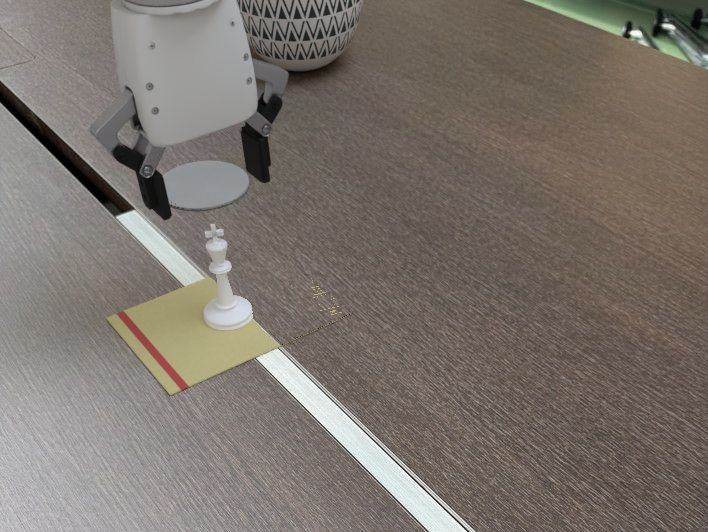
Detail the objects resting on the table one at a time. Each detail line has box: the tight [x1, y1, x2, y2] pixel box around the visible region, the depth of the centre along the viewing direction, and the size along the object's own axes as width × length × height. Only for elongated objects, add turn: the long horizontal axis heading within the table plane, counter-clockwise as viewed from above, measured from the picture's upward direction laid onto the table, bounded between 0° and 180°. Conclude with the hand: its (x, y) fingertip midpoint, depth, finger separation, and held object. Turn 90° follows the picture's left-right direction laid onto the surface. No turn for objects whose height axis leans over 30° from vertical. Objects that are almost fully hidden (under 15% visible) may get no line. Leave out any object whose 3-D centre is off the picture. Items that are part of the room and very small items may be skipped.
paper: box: [105, 276, 353, 396], centre depth 84 cm, size 20×14×1 cm
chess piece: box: [204, 222, 253, 331], centre depth 80 cm, size 5×5×10 cm
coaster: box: [162, 160, 250, 211], centre depth 100 cm, size 11×11×1 cm
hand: (210, 194), depth 73 cm, fingers open, 9 cm apart
